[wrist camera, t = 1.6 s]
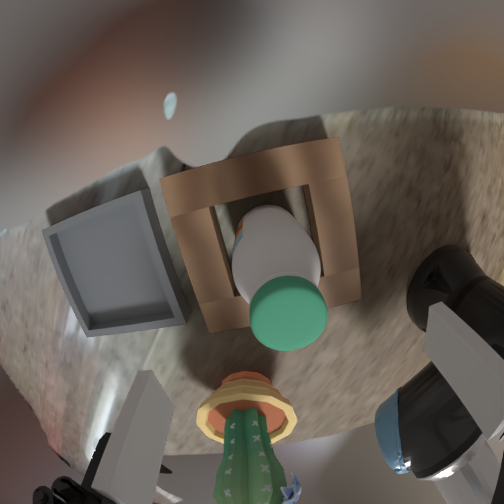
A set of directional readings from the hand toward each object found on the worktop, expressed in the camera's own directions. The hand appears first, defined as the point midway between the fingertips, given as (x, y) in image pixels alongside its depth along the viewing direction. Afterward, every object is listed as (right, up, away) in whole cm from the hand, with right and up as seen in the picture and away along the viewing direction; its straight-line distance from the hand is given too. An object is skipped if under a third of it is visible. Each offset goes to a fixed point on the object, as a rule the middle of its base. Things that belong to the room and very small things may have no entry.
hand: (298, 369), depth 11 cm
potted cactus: (-3, -18, +31) cm, 36 cm away
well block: (0, +7, +23) cm, 24 cm away
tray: (-22, +3, +24) cm, 33 cm away
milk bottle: (0, +7, +23) cm, 24 cm away
